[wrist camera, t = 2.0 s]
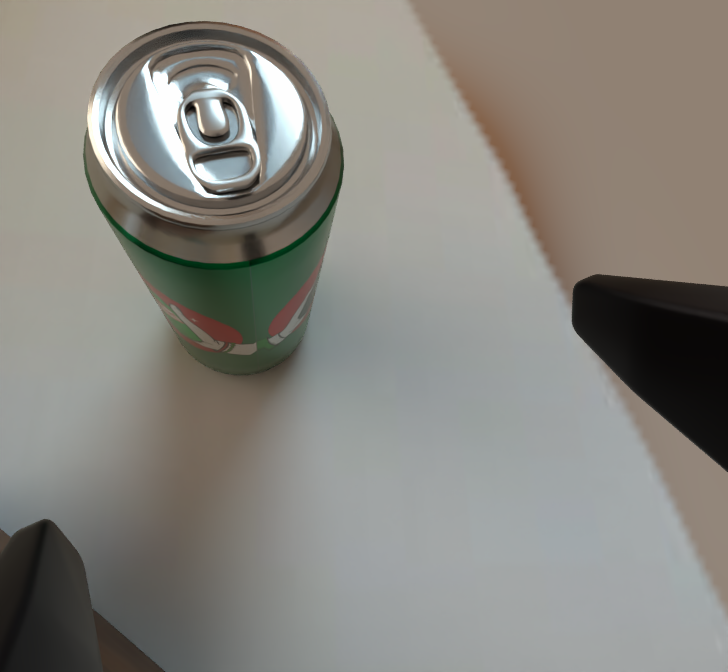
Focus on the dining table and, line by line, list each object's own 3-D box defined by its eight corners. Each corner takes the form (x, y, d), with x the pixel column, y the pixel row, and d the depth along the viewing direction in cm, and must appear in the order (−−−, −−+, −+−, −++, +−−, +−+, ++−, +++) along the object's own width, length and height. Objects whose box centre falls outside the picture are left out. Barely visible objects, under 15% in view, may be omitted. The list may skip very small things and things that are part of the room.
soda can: (289, 243, 22) (310, -10, 11) (322, 359, 21) (385, 214, 10) (162, 269, 21) (39, 17, 10) (191, 393, 20) (92, 273, 9)
